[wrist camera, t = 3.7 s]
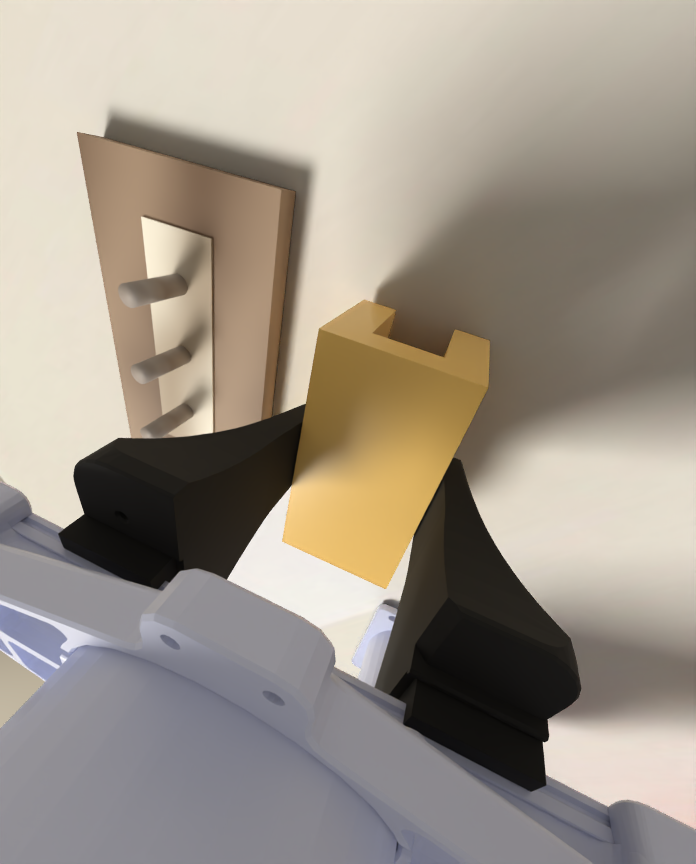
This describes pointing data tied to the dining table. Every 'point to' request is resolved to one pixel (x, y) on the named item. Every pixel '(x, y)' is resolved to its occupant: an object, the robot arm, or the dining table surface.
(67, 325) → the dining table surface
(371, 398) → the block
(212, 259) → the pin plate
